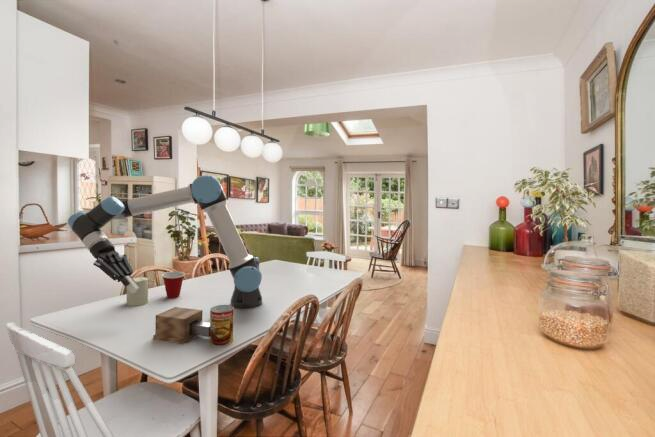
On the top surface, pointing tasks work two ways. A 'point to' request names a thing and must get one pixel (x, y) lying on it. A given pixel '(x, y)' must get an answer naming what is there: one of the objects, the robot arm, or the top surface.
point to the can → (138, 293)
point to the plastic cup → (173, 283)
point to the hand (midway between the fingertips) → (135, 290)
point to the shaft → (199, 328)
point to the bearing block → (176, 324)
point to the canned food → (221, 325)
